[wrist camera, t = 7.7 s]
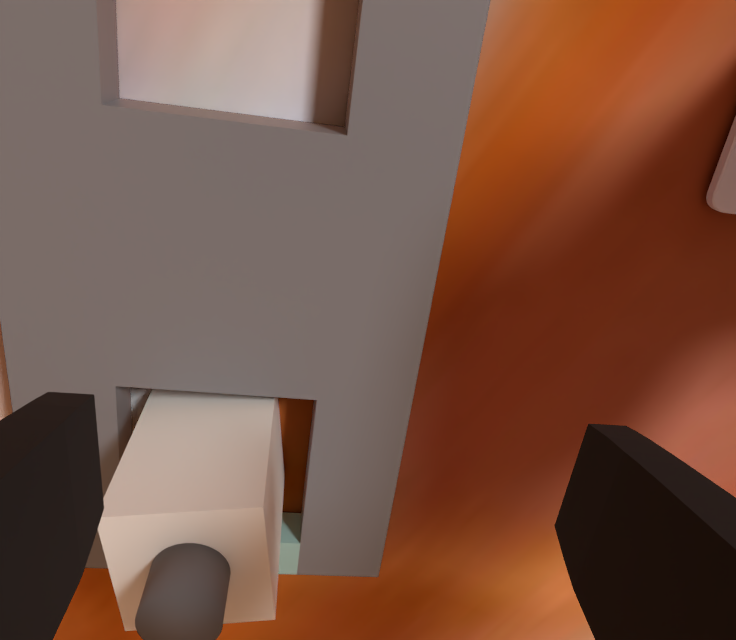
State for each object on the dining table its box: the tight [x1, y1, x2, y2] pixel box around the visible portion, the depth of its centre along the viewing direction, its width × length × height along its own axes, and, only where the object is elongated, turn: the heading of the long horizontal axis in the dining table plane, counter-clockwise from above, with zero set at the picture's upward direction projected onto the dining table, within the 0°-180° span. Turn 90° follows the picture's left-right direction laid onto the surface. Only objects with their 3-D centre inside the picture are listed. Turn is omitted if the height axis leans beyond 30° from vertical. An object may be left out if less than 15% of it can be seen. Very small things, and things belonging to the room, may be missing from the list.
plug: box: [98, 389, 285, 640], centre depth 18 cm, size 4×4×8 cm
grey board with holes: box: [0, 0, 490, 577], centre depth 17 cm, size 12×23×2 cm, turn 173°
